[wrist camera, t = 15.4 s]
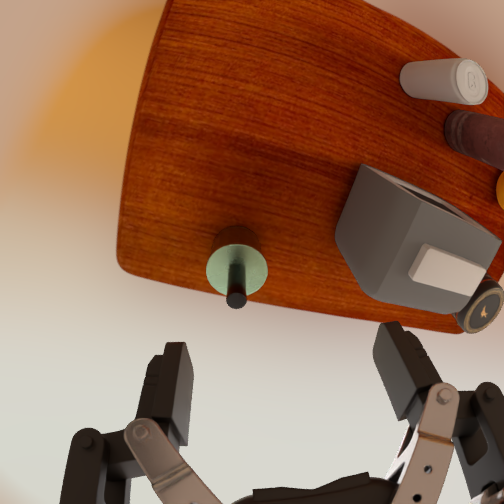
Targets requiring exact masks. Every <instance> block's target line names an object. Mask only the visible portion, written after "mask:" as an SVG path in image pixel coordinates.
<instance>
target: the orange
mask: <svg viewBox="0 0 504 504" xmlns="http://www.w3.org/2000/svg"><path fill="white" fill-rule="evenodd" d="M496 195H497V199H498V202H499V205H500V206H501V208H502V209H503V210H504V171H503V172H502V174H501V175H500V177H499V178H498V181H497V185H496Z"/></svg>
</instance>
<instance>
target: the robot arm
mask: <svg viewBox="0 0 504 504" xmlns="http://www.w3.org/2000/svg"><path fill="white" fill-rule="evenodd" d="M373 359H374V362H375V364H376V367H377V369H378V371H379V374H380V376H381V379H382V381H383V383H384V386H385V389H386V391H387V394H388V396H389V398H390V401H391V404H392V406H393V409H394V411H395V414H396V416H397V419H398V421H401V420H404V419H407V420H408V422H409V424H408V426H407V429H406V431H405V434H404V437H403V439H402V442H401V444H400V447H399V450H398V452H397V454H396V457H395V459H394V461H393V463H392V465H391V467H390V468H389V470H388V472H387V474H386V475H385V478H384V479H382V478H376V477H369V473H368V472H364V473H360V474H356V475H352V476H347V477H343V478H340V479H338V480H335V481H333V482H331V483H329V484H326V485H323V486H321V487H319V488H316V489H297V488H287V487H276V488H265V489H253V495H249V496H246V497H244V498H241V499H239V500H237V501H235V502H234V503H232V504H437V501H438V498H439V496H440V493H441V490H442V487H443V484H444V481H445V478H446V475H447V472H448V468H449V465H450V461H451V458H452V454H453V450H454V446H455V449H456V452H457V455H458V458H459V461H460V464H461V467H462V470H463V473H464V476H465V479H466V483H467V486H468V490H469V493H470V496H471V501H470V503H469V504H504V396H503V394H502V392H501V390H500V388H499V387H498V386H497V385H495V384H493V383H491V382H484V383H481V384H480V385H479V386H478V387H477V389H476V390H475V391H457V389H456V388H455V387H454V386H452V385H450V384H448V383H443V381H442V380H441V378H440V376H439V374H438V372H437V370H436V369H435V367H434V365H433V363H432V361H431V360H430V358H429V356H427V353H426V351H425V349H423V346H422V344H421V342H420V341H419V339H418V338H417V337H416V336H415V335H414V334H412V333H411V332H410V331H404V330H403V328H402V326H401V325H400V323H399V322H398V321H393V322H387V323H381V324H380V326H379V328H378V332H377V337H376V340H375V343H374V347H373ZM193 380H194V374H193V366H192V363H191V359H190V356H189V353H188V350H187V346H186V343H185V342H167V343H166V345H165V349H164V354H163V355H155V356H154V357H153V359H152V360H151V361H150V363H149V364H148V367H147V371H146V377H145V379H144V385H143V388H142V392H141V396H140V401H139V405H138V409H137V414H136V417H135V419H134V420H133V421H132V422H130V423H129V424H128V425H127V427H126V428H125V429H123V430H120V431H116V432H111V433H106V434H101V433H100V432H99V431H98V430H96V429H93V428H84V429H81V430H80V431H78V432H77V433H76V434H75V435H74V436H73V438H72V441H71V446H70V450H69V455H68V459H67V464H66V469H65V475H64V479H63V485H62V491H61V497H60V503H59V504H129V503H130V489H131V478H135V477H140V476H145V475H146V476H147V478H148V479H149V480H150V482H151V484H152V488H153V490H154V491H155V493H156V494H157V496H158V497H159V498H160V500H161V501H162V503H163V504H222V503H221V501H220V500H219V499H218V498H217V497H216V496H215V495H214V494H213V493H212V492H211V490H210V489H209V488H208V487H207V486H206V485H205V484H204V483H203V481H202V480H201V479H200V478H199V477H198V475H197V474H196V473H195V472H194V471H193V469H192V468H191V467H190V466H189V465H188V464H187V463H186V462H185V460H184V459H183V458H182V456H181V455H180V454H179V446H187V445H188V432H189V422H190V411H191V400H192V389H193ZM451 438H452V441H453V442H451Z"/></svg>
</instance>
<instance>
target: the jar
mask: <svg viewBox="0 0 504 504" xmlns="http://www.w3.org/2000/svg"><path fill="white" fill-rule="evenodd" d="M503 302H504V291H503V289H502V287H501V286H500V285H499V284H498V283H497V282H496V281H495V280H494V279H493V278H492V277H491V276H489V275H488V274H487V273H485V275H484V277H483V278H482V280H481V282H480V284H479V285H478V287H477V289H476V290H475V292H474V294H473V295H472V297H471V298H470V300H469V302H468V303H467V305H466V306H465V307H464V308H463V309H462V310H461V311H460V312H454V313H451V314H452V315H453V317H454V318H455V319H456V321H457V323H458V325H459V326H460V327H461V328H462V329H463V330H464V331H465V332H466V333H469V334H472V333H477V332H479V331H481V330H483V329H484V328H486V327H487V326H488V325H489V324H490V323H491V322H492V321H493V320H494V319H495V318H496V316H497V315H498V314H499V312H500V310H501V308H502V305H503Z"/></svg>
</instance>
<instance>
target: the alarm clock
mask: <svg viewBox="0 0 504 504" xmlns="http://www.w3.org/2000/svg"><path fill="white" fill-rule="evenodd" d="M335 242H336V244H337V246H338V248H339V250H340V252H341V254H342V256H343V257H344V259H345V261H346V263H347V264H348V266H349V268H350V270H351V271H352V273H353V275H354V277H355V278H356V280H357V282H358V284H359V286H360V287H361V289H362V290H363V291H364V292H365V293H366V294H367V295H368V296H370V297H372V298H374V299H376V300H378V301H382V302H387V303H392V304H396V305H401V306H406V307H411V308H416V309H421V310H426V311H431V312H436V313H441V314H449V313H454V312H460V311H461V310H462V309H463V308H464V307H465V306H466V305H467V303H468V302H469V300H470V298H471V297H472V295H473V294H474V292H475V290H476V289H477V287H478V285H479V284H480V282H481V280H482V278H483V277H484V275H485V273H486V271H487V269H488V268H489V266H490V264H491V262H492V260H493V258H494V256H495V254H496V252H497V250H498V248H499V246H500V244H501V242H502V241H501V239H499V238H498V237H497V236H496V235H494V234H493V233H492V232H490V231H489V230H488V229H486V228H485V227H484V226H482V225H481V224H479V223H478V222H477V221H475V220H474V219H472V218H471V217H470V216H468V215H467V214H465V213H464V212H462V211H461V210H459V209H458V208H456V207H455V206H453V205H452V204H450V203H448V202H446V201H445V200H443V199H441V198H439V197H437V196H435V195H433V194H431V193H429V192H427V191H425V190H423V189H421V188H419V187H417V186H415V185H412V184H410V183H408V182H406V181H404V180H401V179H399V178H397V177H395V176H392V175H390V174H388V173H385V172H383V171H381V170H378V169H376V168H373V167H371V166H368V165H365V164H361V165H360V168H359V171H358V173H357V176H356V179H355V181H354V184H353V186H352V189H351V191H350V194H349V196H348V199H347V201H346V204H345V206H344V209H343V211H342V214H341V216H340V218H339V221H338V223H337V226H336V231H335Z"/></svg>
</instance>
